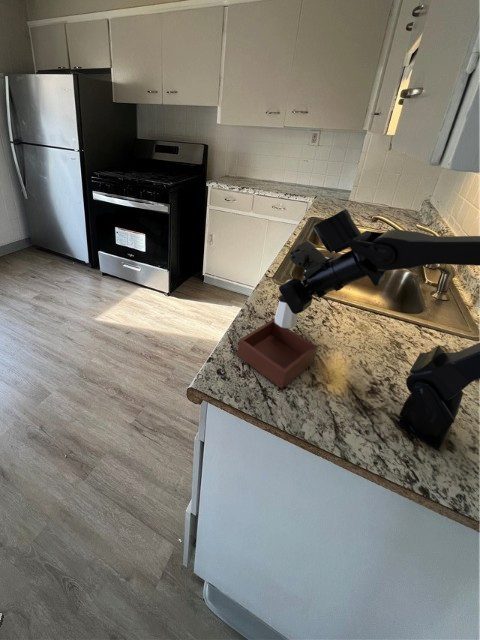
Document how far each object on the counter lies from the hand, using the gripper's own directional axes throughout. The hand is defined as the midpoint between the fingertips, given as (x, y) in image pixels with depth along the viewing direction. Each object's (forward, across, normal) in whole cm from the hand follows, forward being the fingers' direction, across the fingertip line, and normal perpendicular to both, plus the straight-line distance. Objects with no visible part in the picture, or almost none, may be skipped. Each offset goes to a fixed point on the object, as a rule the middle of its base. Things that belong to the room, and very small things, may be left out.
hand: (284, 296), depth 73 cm
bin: (+7, +5, +12) cm, 15 cm away
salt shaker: (+4, 0, +6) cm, 7 cm away
